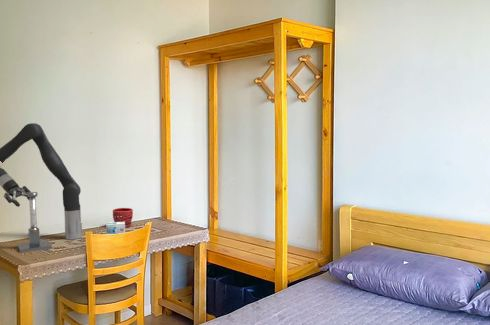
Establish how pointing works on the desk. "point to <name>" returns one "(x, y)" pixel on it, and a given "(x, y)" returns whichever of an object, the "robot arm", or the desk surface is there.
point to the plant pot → (123, 216)
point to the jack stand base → (34, 242)
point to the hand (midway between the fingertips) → (25, 203)
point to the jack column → (32, 209)
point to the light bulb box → (115, 227)
